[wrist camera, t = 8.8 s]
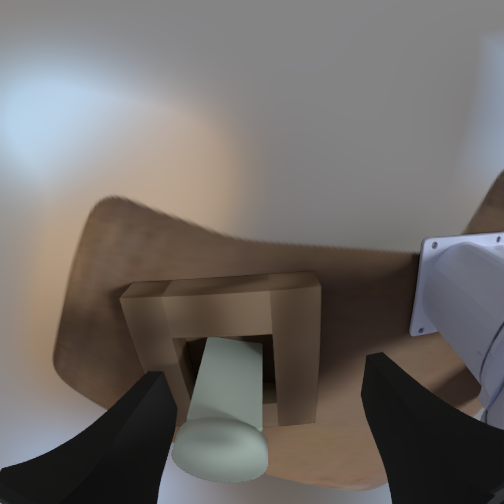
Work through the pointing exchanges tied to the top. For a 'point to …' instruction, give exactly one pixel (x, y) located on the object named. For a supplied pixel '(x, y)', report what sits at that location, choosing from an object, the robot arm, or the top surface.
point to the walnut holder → (233, 333)
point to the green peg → (225, 416)
